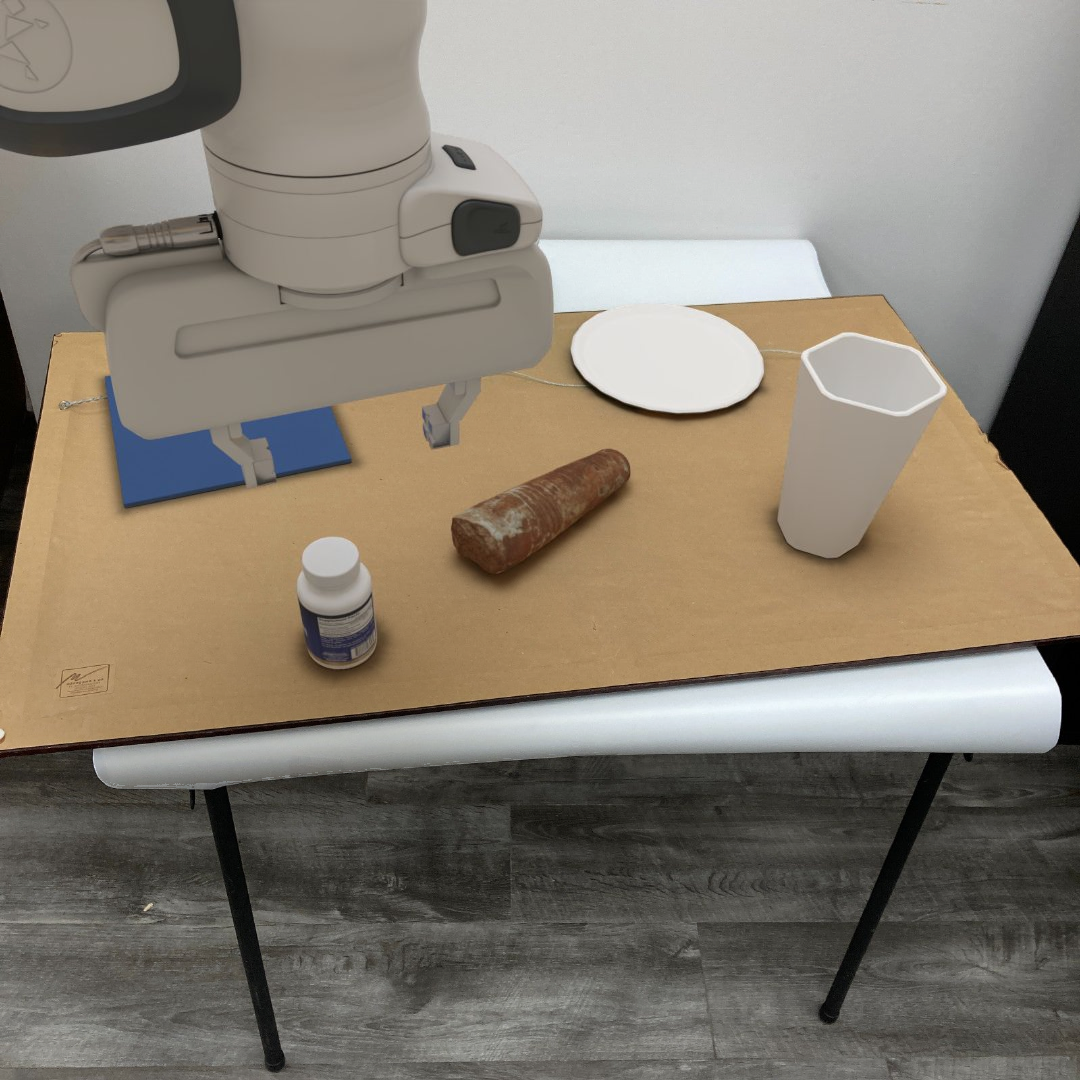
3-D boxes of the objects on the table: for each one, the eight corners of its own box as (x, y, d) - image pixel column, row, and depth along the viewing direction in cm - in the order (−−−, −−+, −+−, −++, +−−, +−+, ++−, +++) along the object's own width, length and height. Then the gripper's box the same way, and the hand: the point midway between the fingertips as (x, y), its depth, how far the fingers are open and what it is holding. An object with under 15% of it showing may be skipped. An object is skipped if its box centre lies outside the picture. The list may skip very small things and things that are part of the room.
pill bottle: (306, 621, 77) (290, 532, 70) (375, 614, 78) (366, 525, 71) (307, 675, 73) (291, 586, 66) (379, 667, 74) (371, 579, 67)
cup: (888, 513, 90) (952, 356, 78) (872, 586, 83) (940, 426, 71) (768, 479, 92) (814, 321, 81) (744, 547, 86) (789, 386, 74)
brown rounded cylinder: (443, 555, 83) (442, 506, 79) (600, 464, 93) (606, 416, 89) (491, 597, 80) (493, 548, 76) (649, 498, 90) (657, 450, 86)
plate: (751, 438, 97) (754, 428, 96) (548, 397, 100) (549, 387, 99) (771, 330, 111) (773, 321, 111) (593, 297, 115) (594, 288, 114)
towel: (124, 508, 85) (123, 504, 84) (105, 380, 98) (104, 376, 97) (351, 462, 91) (351, 458, 91) (305, 347, 104) (304, 343, 104)
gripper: (59, 274, 35) (147, 547, 45) (578, 203, 41) (557, 456, 51) (50, 198, 39) (133, 463, 49) (523, 144, 45) (514, 388, 55)
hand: (353, 459), depth 50 cm, fingers open, 8 cm apart
